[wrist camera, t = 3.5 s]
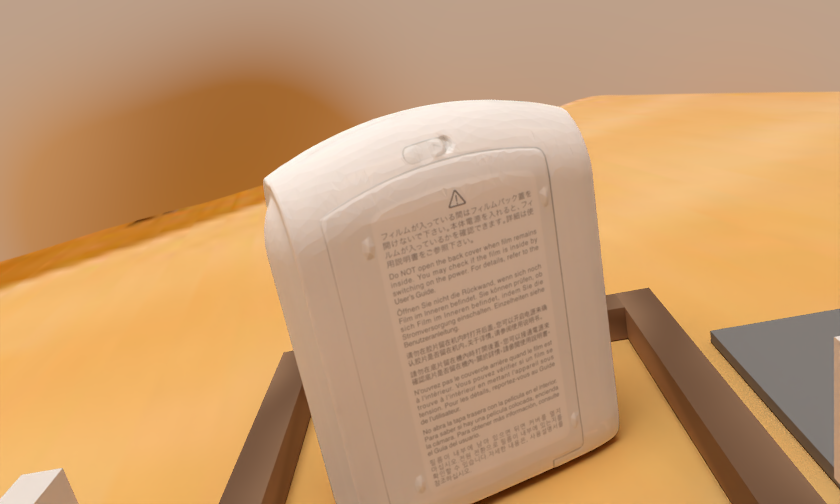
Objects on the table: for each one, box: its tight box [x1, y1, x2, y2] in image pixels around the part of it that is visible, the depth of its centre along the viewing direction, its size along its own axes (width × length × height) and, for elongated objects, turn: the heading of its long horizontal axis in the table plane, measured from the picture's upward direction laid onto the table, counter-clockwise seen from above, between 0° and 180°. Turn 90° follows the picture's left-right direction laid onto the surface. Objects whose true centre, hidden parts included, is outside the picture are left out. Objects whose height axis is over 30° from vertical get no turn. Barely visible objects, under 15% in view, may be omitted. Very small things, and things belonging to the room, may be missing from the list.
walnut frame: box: [219, 288, 826, 504], centre depth 23 cm, size 17×17×2 cm
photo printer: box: [264, 100, 619, 504], centre depth 21 cm, size 10×4×12 cm, turn 113°
